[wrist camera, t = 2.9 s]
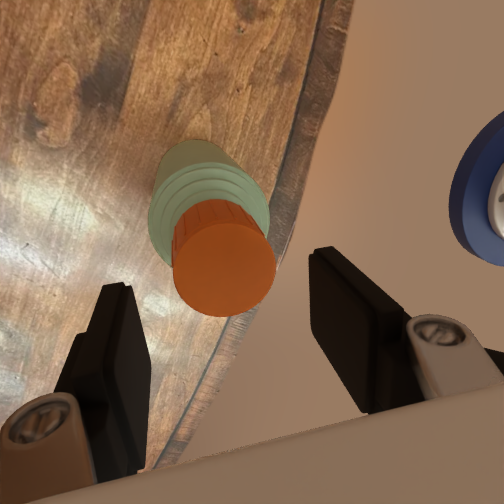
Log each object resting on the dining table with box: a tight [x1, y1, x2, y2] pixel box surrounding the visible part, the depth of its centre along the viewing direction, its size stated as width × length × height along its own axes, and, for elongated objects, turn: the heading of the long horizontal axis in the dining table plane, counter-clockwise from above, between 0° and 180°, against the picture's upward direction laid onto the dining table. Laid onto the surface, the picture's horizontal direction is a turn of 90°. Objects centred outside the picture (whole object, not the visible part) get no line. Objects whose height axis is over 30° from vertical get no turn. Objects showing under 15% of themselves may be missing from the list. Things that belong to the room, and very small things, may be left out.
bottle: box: [148, 140, 270, 268], centre depth 22 cm, size 6×6×18 cm
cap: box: [171, 199, 276, 317], centre depth 15 cm, size 4×4×4 cm
